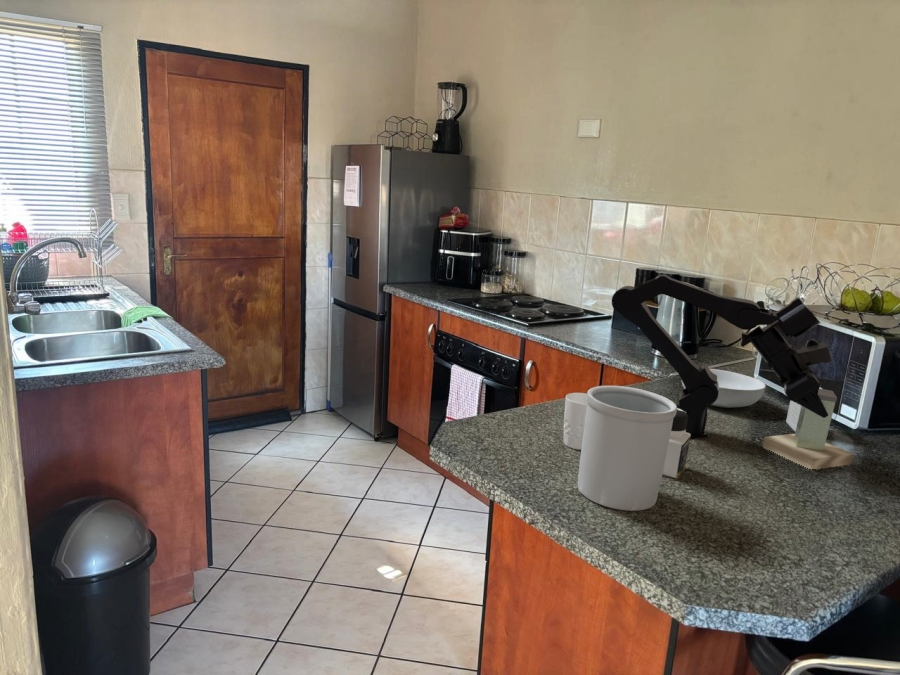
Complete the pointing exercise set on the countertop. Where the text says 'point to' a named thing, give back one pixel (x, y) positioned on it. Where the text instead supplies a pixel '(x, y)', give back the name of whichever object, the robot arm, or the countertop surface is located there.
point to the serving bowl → (736, 389)
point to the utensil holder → (624, 446)
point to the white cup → (574, 419)
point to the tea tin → (815, 424)
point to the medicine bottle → (677, 446)
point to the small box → (793, 414)
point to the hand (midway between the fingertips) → (823, 410)
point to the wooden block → (807, 453)
